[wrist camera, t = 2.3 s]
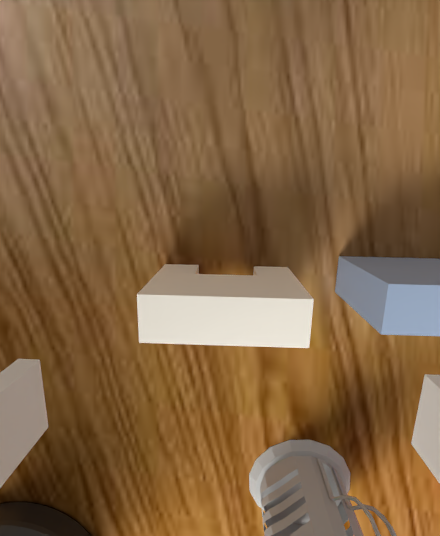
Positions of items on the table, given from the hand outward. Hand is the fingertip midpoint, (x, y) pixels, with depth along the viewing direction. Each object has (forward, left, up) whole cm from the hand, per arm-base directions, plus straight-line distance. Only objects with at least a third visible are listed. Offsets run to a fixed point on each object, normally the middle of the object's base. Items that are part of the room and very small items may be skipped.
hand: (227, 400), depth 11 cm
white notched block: (0, 0, -15) cm, 15 cm away
